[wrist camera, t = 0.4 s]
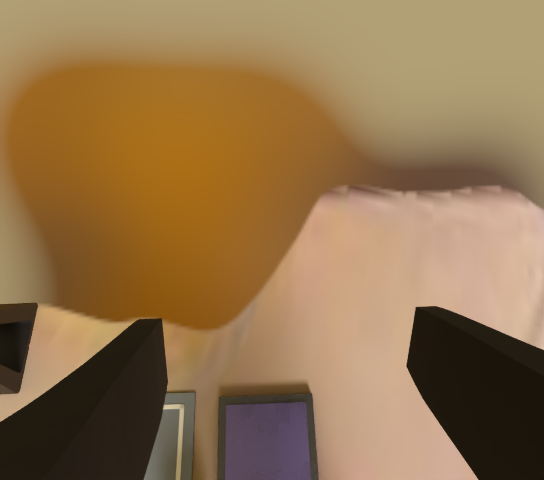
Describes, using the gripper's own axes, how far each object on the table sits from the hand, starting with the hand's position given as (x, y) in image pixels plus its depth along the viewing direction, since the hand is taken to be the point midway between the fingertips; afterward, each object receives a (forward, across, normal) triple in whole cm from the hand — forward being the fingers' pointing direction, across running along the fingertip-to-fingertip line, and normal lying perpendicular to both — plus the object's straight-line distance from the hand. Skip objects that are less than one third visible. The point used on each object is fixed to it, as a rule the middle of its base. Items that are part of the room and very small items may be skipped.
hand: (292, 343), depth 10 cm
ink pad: (+16, -1, +23) cm, 28 cm away
